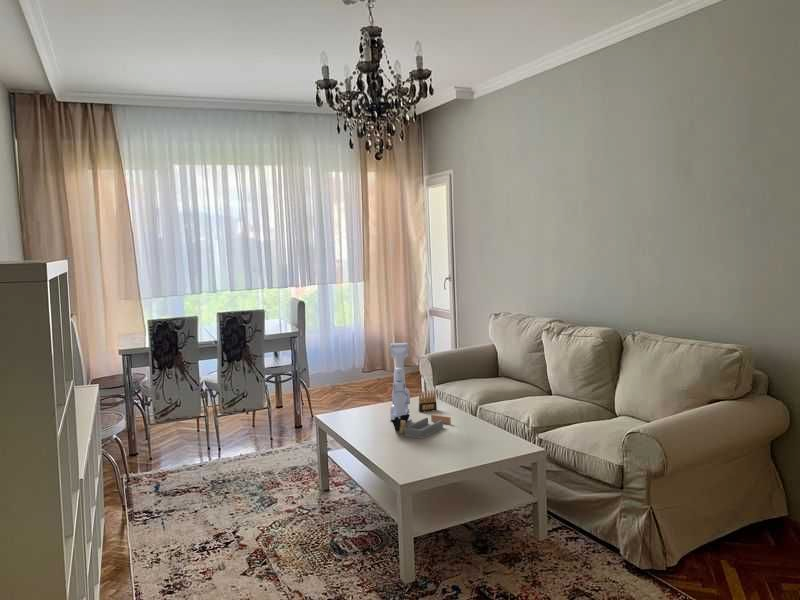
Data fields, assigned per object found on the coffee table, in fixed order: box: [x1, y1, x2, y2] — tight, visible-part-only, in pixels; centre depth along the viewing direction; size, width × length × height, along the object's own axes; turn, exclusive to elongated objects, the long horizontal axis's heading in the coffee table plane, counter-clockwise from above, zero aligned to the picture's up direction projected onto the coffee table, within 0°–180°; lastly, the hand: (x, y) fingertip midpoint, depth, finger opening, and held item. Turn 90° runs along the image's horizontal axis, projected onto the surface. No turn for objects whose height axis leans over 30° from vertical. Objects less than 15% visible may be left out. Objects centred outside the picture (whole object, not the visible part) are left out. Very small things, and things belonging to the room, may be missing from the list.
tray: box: [404, 417, 444, 439], centre depth 322 cm, size 10×21×4 cm, turn 145°
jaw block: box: [394, 420, 407, 435], centre depth 322 cm, size 4×4×6 cm
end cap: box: [430, 414, 452, 425], centre depth 336 cm, size 12×1×4 cm, turn 55°
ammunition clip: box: [418, 389, 438, 413], centre depth 360 cm, size 11×2×12 cm, turn 106°
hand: (400, 429), depth 322 cm, fingers open, 5 cm apart
